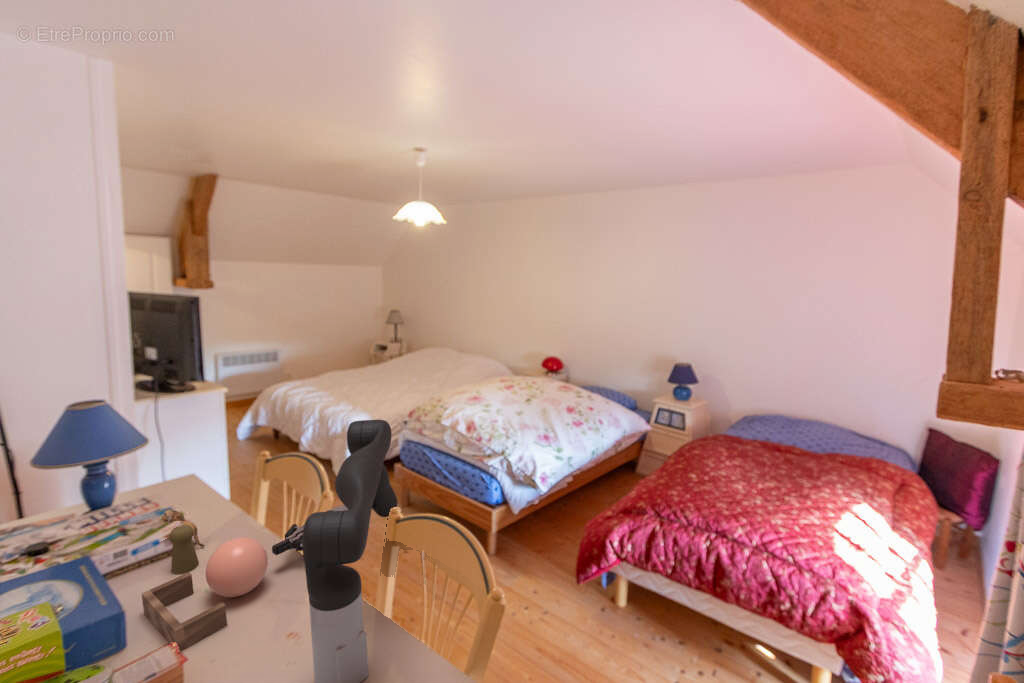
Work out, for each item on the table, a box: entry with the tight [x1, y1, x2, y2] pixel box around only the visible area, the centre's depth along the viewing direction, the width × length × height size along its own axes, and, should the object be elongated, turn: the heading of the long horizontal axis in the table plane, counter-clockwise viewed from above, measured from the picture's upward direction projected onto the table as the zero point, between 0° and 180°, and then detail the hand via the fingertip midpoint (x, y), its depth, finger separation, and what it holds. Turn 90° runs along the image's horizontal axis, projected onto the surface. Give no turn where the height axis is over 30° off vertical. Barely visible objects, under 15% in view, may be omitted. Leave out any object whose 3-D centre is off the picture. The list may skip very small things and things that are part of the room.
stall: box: [141, 572, 228, 652], centre depth 107 cm, size 19×10×5 cm, turn 54°
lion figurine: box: [158, 509, 205, 548], centre depth 136 cm, size 15×5×9 cm, turn 71°
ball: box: [205, 537, 269, 598], centre depth 116 cm, size 13×13×13 cm
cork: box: [168, 525, 200, 575], centre depth 125 cm, size 6×6×11 cm
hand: (273, 551), depth 123 cm, fingers closed
